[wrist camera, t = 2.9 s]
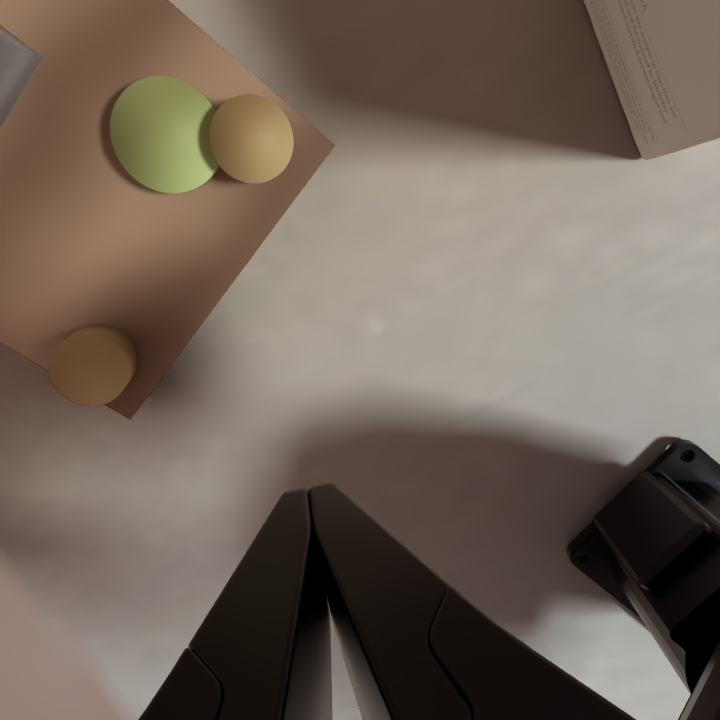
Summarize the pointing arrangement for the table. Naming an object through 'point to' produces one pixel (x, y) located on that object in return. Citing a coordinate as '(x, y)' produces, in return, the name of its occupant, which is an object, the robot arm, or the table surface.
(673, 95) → the supplement box
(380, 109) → the table surface
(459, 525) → the table surface
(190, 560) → the table surface
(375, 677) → the robot arm
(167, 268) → the wooden base with pillar
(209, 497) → the table surface
